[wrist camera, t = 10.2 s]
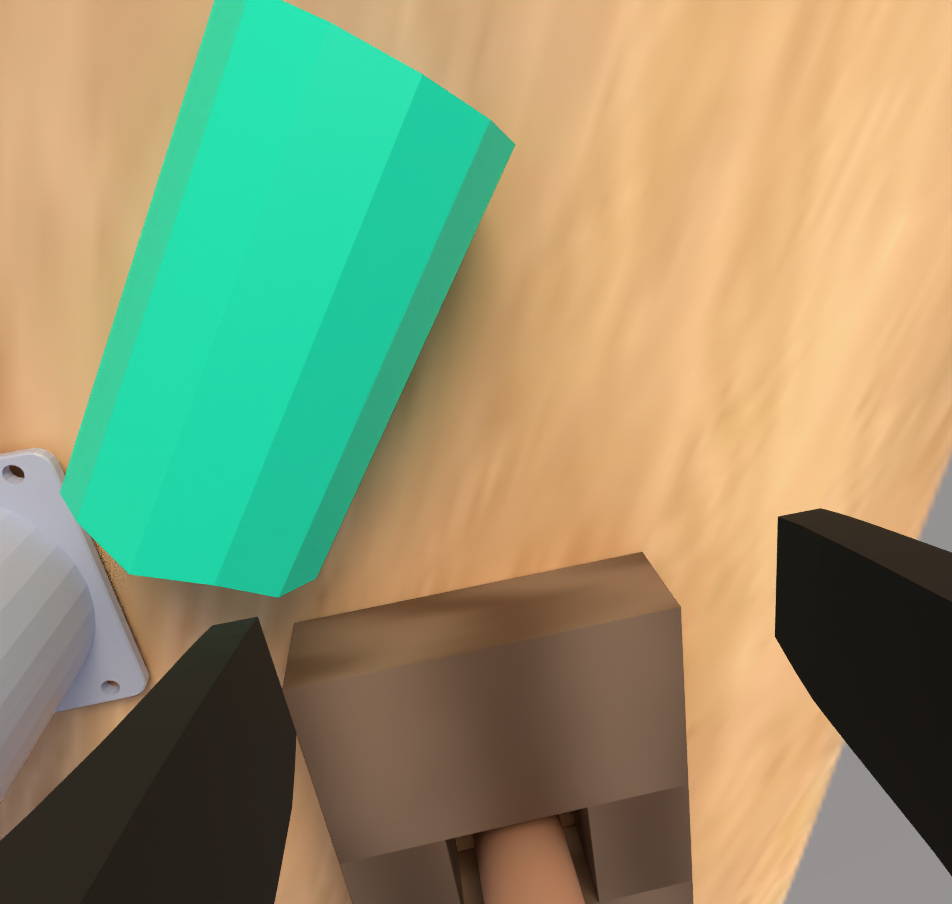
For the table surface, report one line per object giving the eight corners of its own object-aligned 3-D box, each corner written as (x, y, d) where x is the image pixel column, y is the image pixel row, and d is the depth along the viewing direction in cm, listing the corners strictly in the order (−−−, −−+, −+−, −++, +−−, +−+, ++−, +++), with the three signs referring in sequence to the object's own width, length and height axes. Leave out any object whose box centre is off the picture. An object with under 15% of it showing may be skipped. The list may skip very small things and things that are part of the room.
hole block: (406, 984, 28) (409, 1073, 25) (294, 623, 21) (282, 691, 18) (666, 921, 29) (697, 1000, 26) (642, 552, 22) (680, 607, 19)
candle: (564, 176, 15) (347, 624, 18) (376, 96, 17) (219, 497, 21) (377, 33, 9) (123, 693, 13) (154, -49, 12) (-6, 513, 16)
